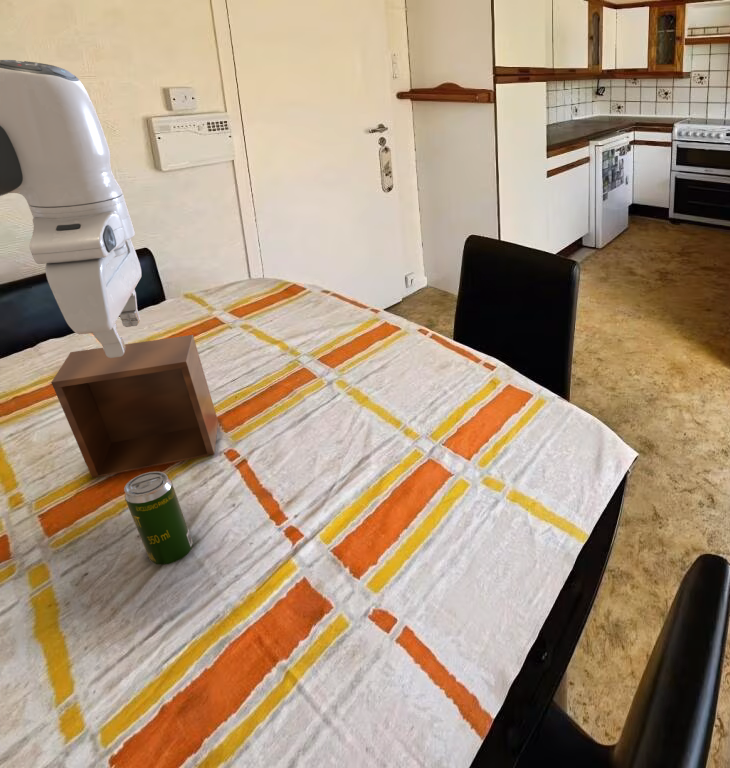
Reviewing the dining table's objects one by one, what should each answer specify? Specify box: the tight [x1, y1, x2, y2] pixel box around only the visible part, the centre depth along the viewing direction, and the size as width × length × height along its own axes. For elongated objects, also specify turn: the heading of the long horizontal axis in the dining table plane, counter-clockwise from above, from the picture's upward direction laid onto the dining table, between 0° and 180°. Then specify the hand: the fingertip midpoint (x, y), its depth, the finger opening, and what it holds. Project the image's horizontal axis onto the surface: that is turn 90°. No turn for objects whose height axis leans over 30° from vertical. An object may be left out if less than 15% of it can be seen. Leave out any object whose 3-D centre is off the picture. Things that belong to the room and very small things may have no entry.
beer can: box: [123, 471, 194, 566], centre depth 81 cm, size 5×5×12 cm
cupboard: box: [50, 334, 219, 479], centre depth 102 cm, size 18×11×18 cm, turn 109°
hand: (125, 339), depth 76 cm, fingers open, 8 cm apart
